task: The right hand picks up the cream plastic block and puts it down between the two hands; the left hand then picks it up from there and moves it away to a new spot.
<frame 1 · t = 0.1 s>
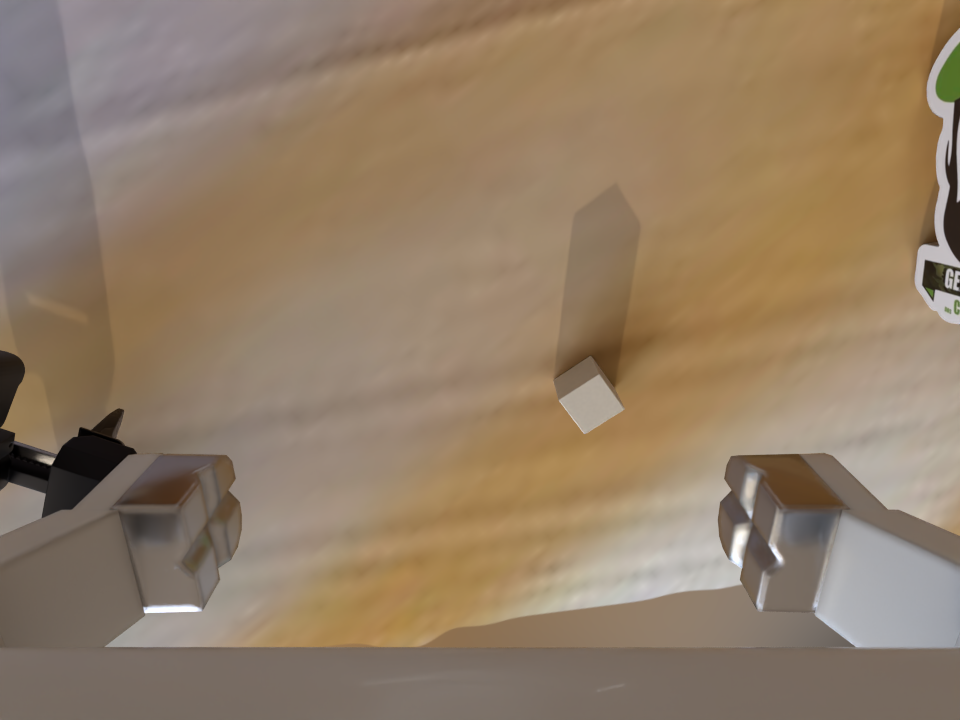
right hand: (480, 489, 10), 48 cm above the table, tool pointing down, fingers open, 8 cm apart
block: (584, 384, 62), on the table
cutout: (935, 169, 54), on the table
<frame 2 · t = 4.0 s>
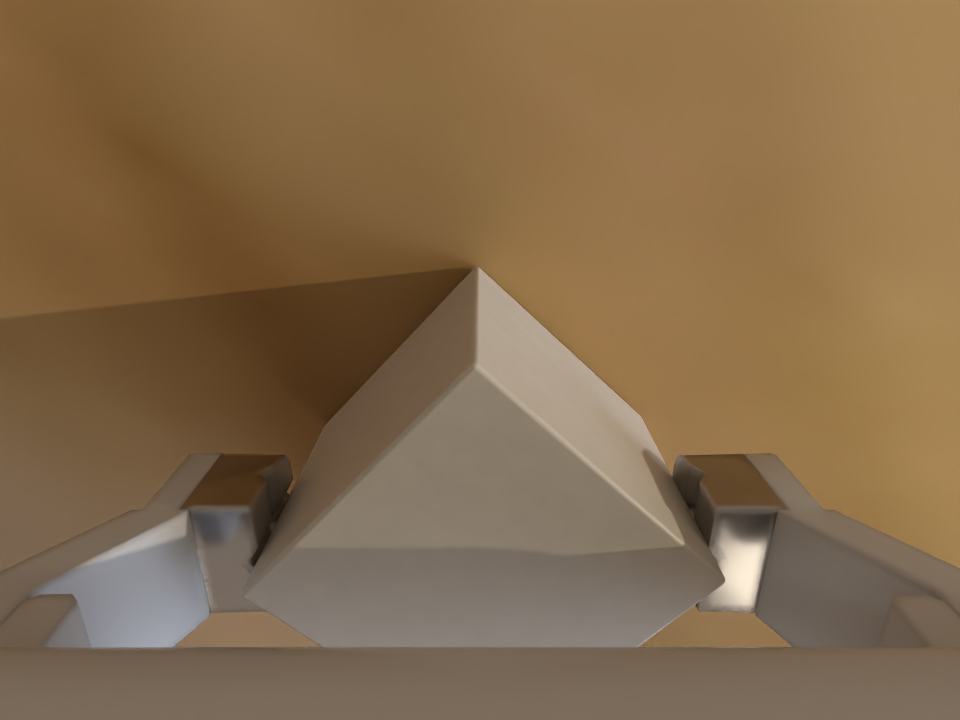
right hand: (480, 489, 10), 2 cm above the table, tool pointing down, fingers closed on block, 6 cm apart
block: (481, 421, 12), on the table, touching right hand
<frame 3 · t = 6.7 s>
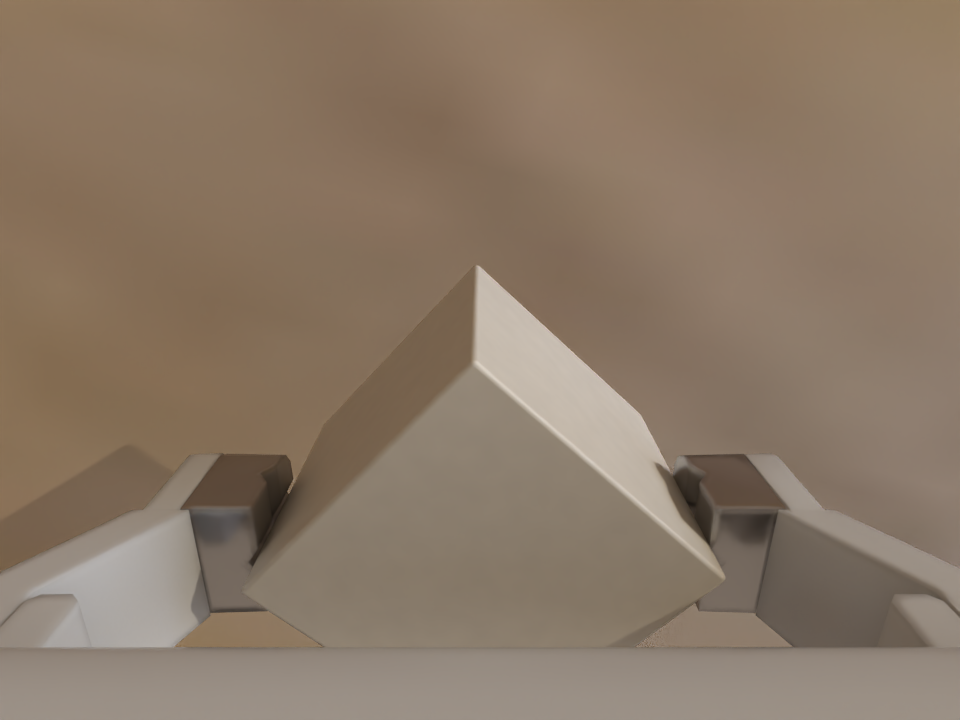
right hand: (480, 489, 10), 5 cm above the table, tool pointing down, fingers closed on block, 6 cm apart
block: (481, 420, 12), point 3 cm above the table, touching right hand
when the right hand's fingers open (3 cm above the table, at t = 9.7 s): block stays where it is, on the table.
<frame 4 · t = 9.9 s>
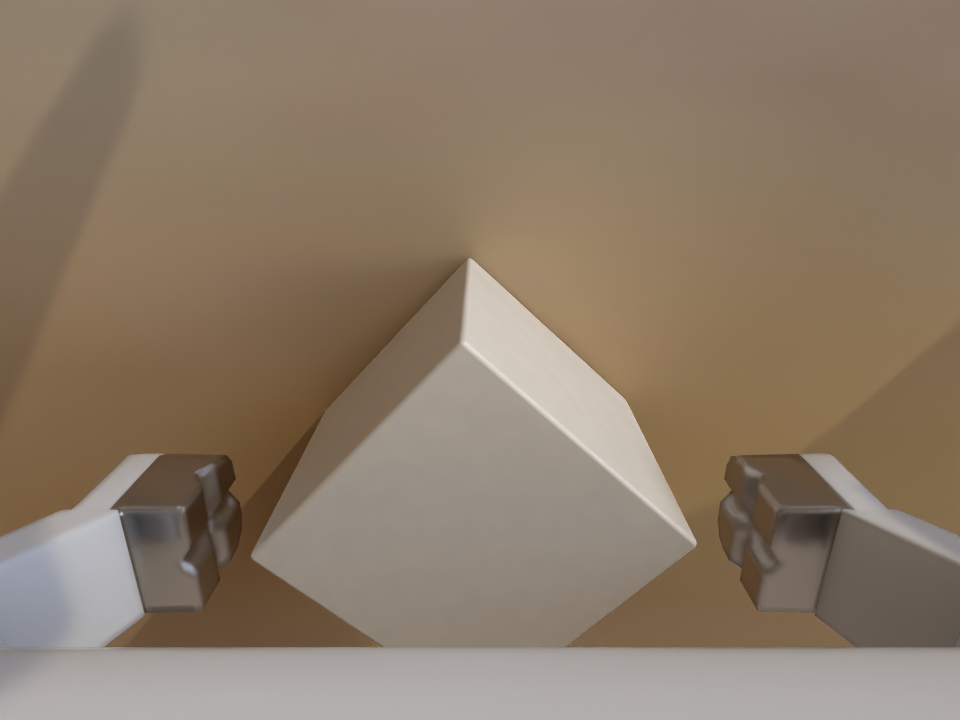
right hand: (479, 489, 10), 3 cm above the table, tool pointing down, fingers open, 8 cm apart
block: (475, 405, 13), on the table
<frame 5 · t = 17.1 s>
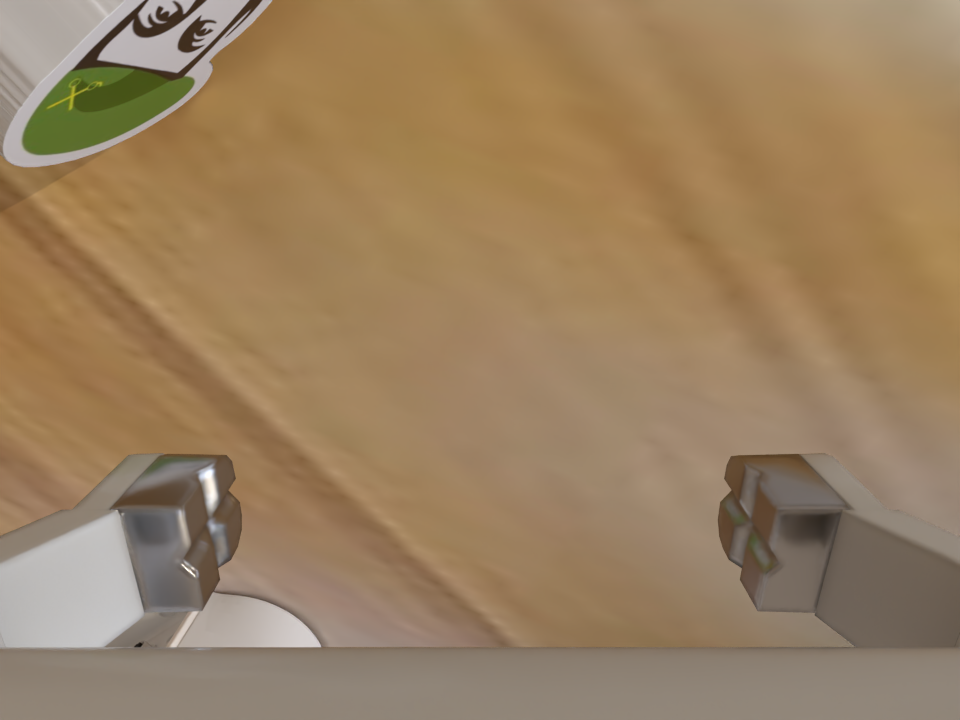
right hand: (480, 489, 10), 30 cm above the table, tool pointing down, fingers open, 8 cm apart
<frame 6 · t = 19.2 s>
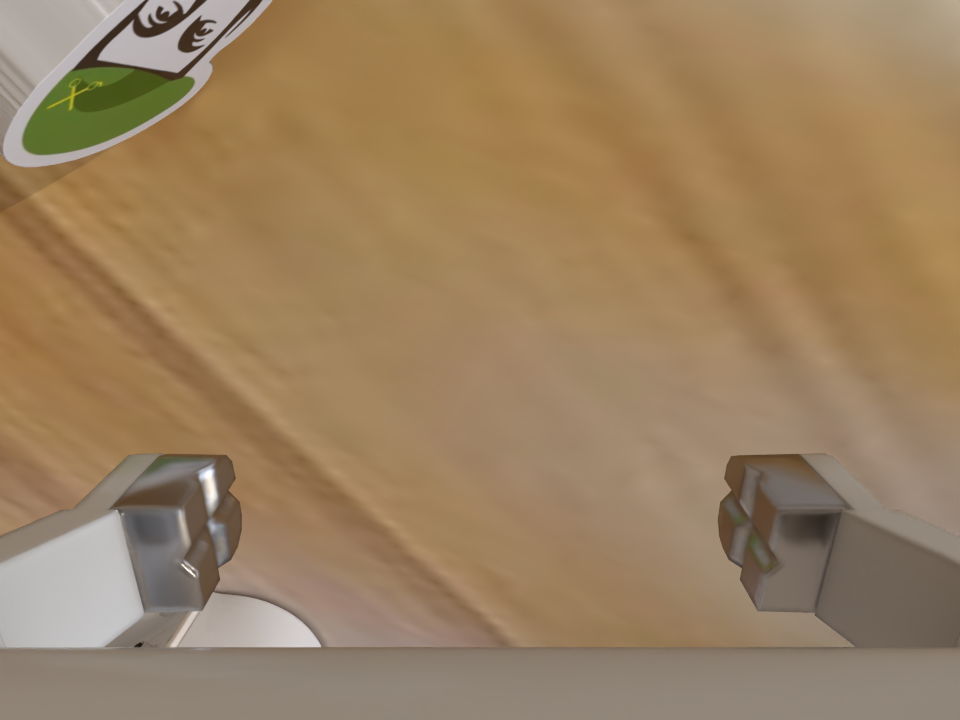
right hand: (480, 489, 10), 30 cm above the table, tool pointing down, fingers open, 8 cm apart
when the left hand's fingers open (2 cm above the table, at t = 21.8 s): block stays where it is, on the table.
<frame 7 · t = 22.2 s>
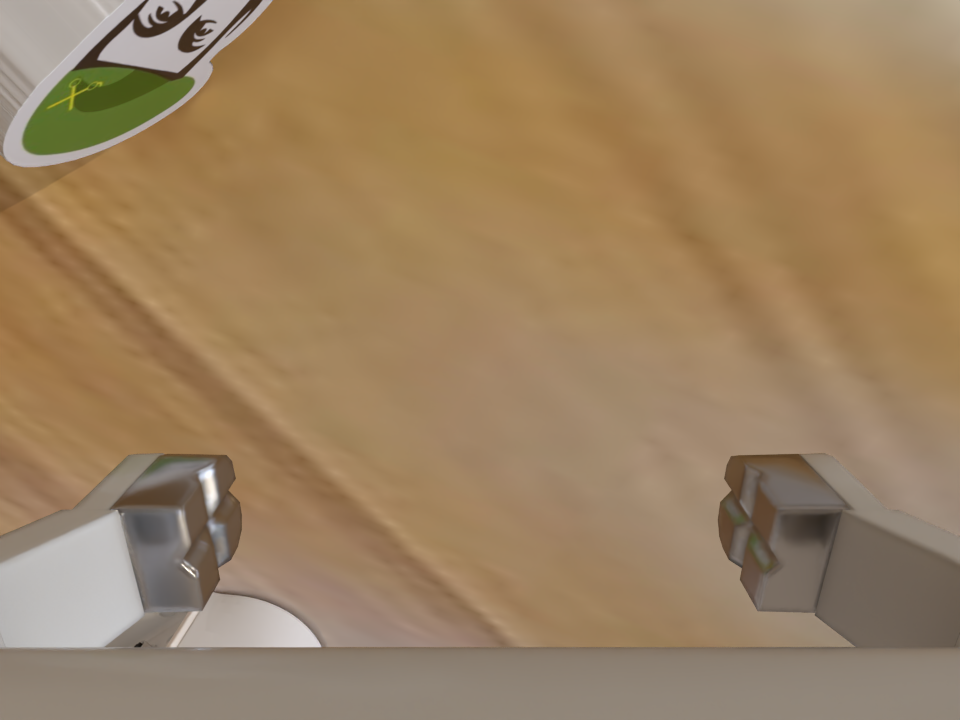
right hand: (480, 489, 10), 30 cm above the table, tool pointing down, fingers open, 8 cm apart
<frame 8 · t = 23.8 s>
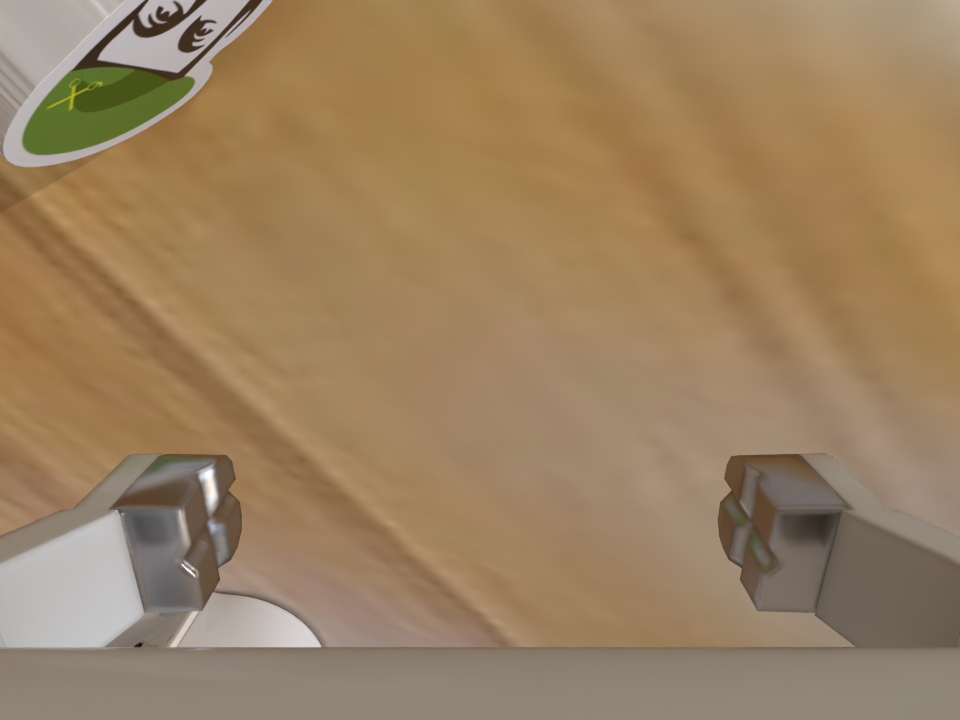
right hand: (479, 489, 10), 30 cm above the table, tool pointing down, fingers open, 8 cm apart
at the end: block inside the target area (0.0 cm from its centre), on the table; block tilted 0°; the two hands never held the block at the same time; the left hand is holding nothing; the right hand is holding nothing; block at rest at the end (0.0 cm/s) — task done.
